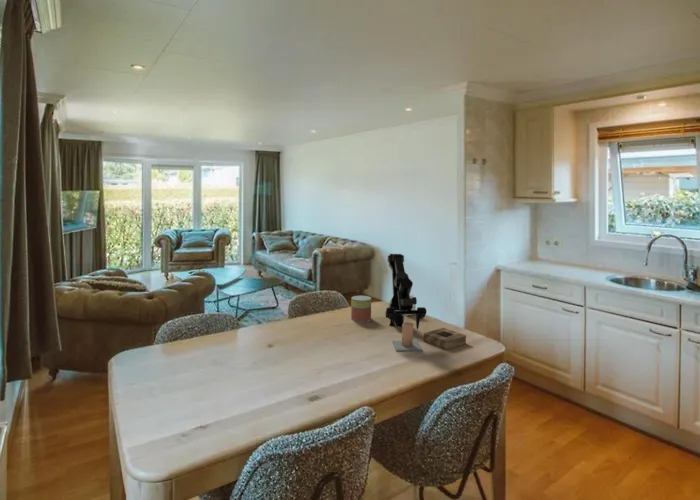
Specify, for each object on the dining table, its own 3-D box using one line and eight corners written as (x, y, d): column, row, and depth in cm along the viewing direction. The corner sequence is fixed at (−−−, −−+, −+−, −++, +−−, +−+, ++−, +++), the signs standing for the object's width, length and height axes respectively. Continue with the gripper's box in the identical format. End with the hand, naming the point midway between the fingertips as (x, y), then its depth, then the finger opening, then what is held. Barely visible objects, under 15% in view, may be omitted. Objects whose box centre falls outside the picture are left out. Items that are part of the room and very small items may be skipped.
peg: (399, 344, 196) (400, 323, 195) (407, 342, 199) (407, 321, 198) (407, 347, 193) (407, 326, 191) (414, 345, 196) (415, 324, 194)
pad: (392, 341, 202) (392, 340, 202) (417, 341, 202) (417, 340, 202) (396, 351, 190) (396, 350, 190) (422, 351, 190) (422, 349, 190)
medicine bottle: (398, 312, 250) (399, 293, 248) (408, 311, 253) (409, 291, 251) (405, 316, 243) (405, 295, 242) (415, 314, 246) (416, 294, 245)
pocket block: (423, 341, 203) (423, 333, 202) (442, 335, 212) (443, 327, 211) (446, 349, 192) (446, 341, 192) (465, 343, 201) (466, 335, 200)
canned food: (374, 317, 239) (375, 297, 238) (364, 323, 230) (364, 301, 228) (357, 314, 245) (357, 294, 244) (347, 319, 236) (347, 298, 234)
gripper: (386, 290, 197) (389, 321, 188) (426, 290, 198) (431, 320, 189) (384, 302, 206) (386, 332, 197) (422, 302, 207) (426, 331, 198)
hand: (407, 328), depth 195 cm, fingers open, 9 cm apart
